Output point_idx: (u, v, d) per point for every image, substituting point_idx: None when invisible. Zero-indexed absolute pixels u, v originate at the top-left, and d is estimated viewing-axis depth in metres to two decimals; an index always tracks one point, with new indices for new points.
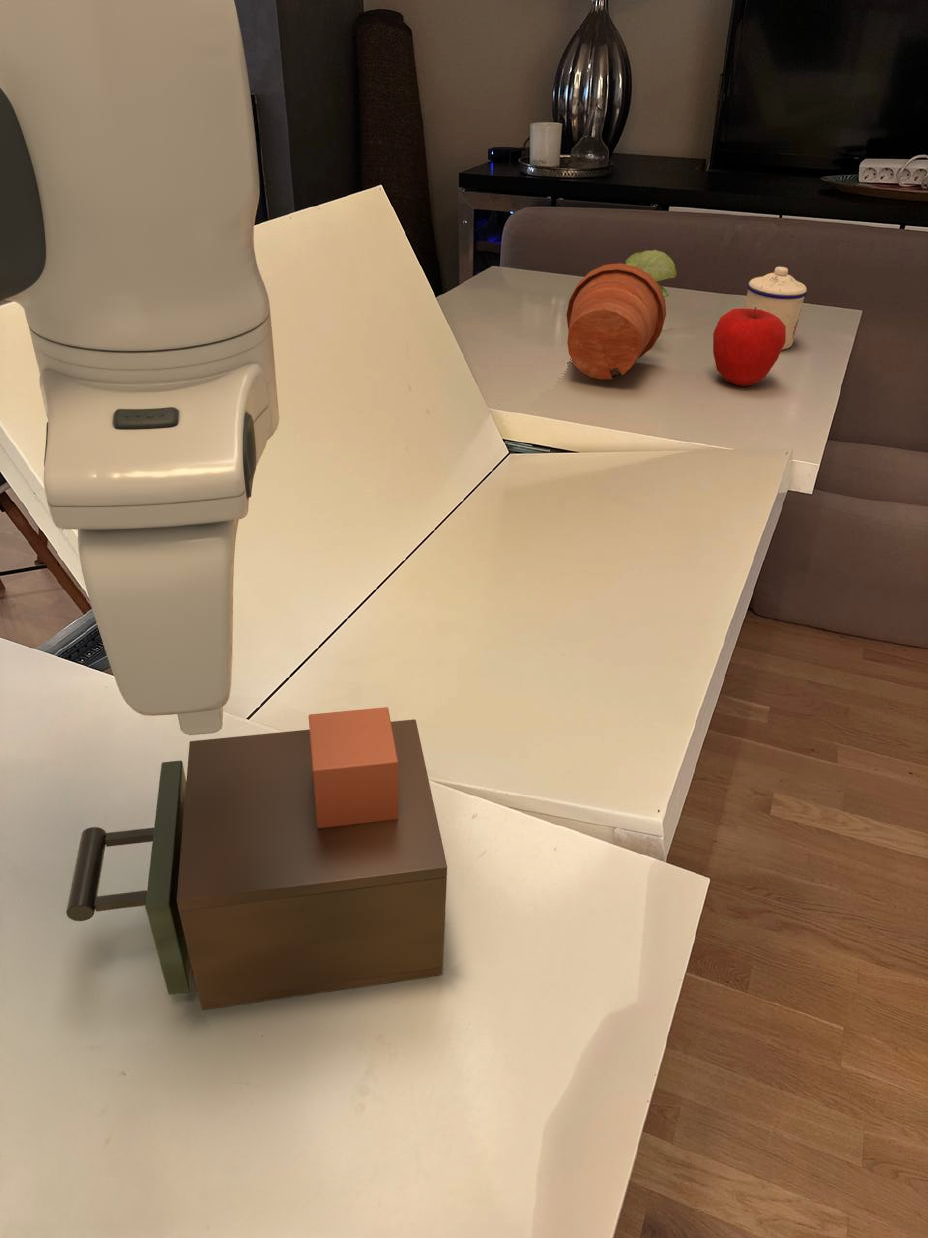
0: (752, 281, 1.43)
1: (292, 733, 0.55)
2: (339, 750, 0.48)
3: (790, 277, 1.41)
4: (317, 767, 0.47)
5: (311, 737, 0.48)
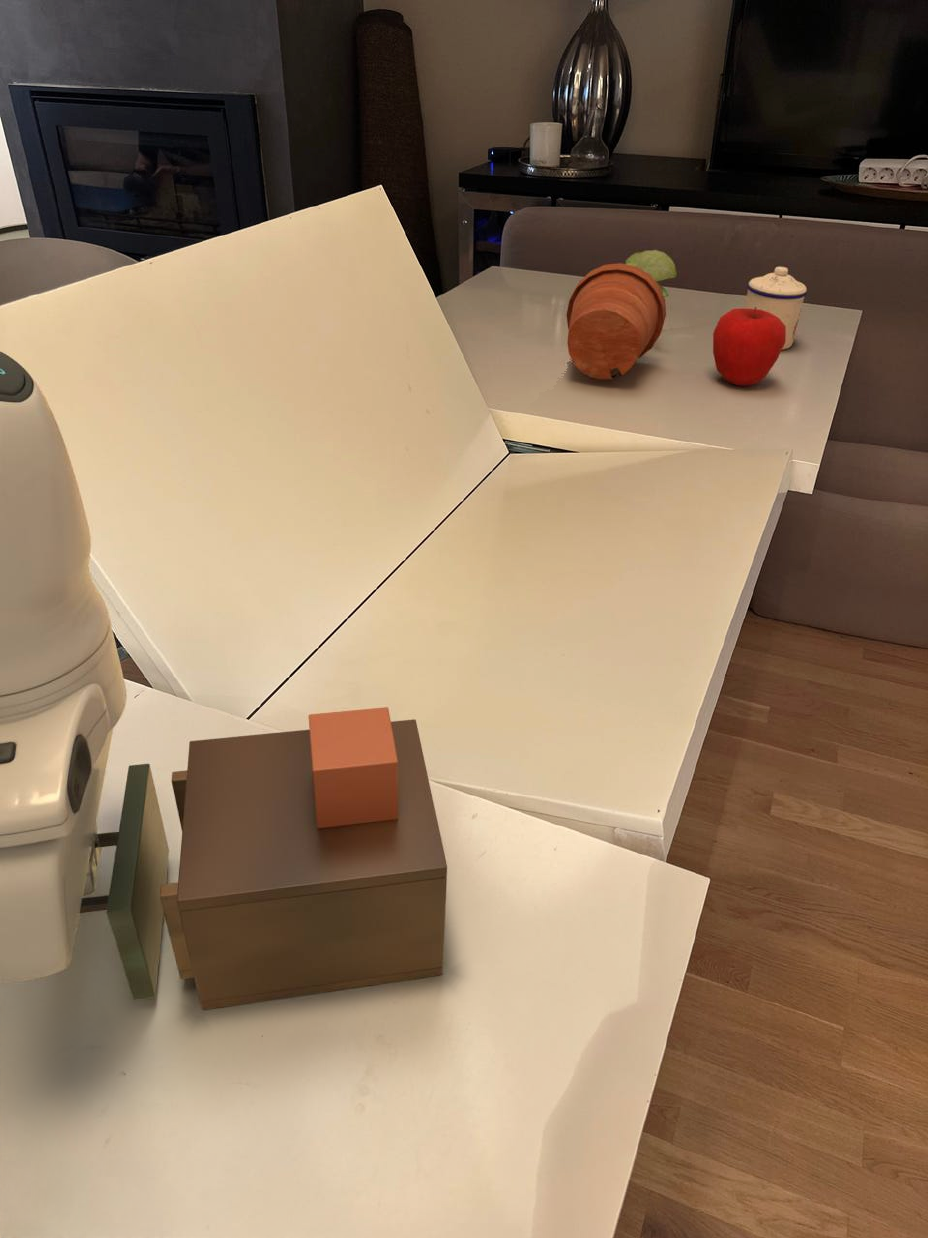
0: (752, 281, 1.43)
1: (292, 733, 0.55)
2: (339, 750, 0.48)
3: (790, 277, 1.41)
4: (317, 767, 0.47)
5: (311, 737, 0.48)
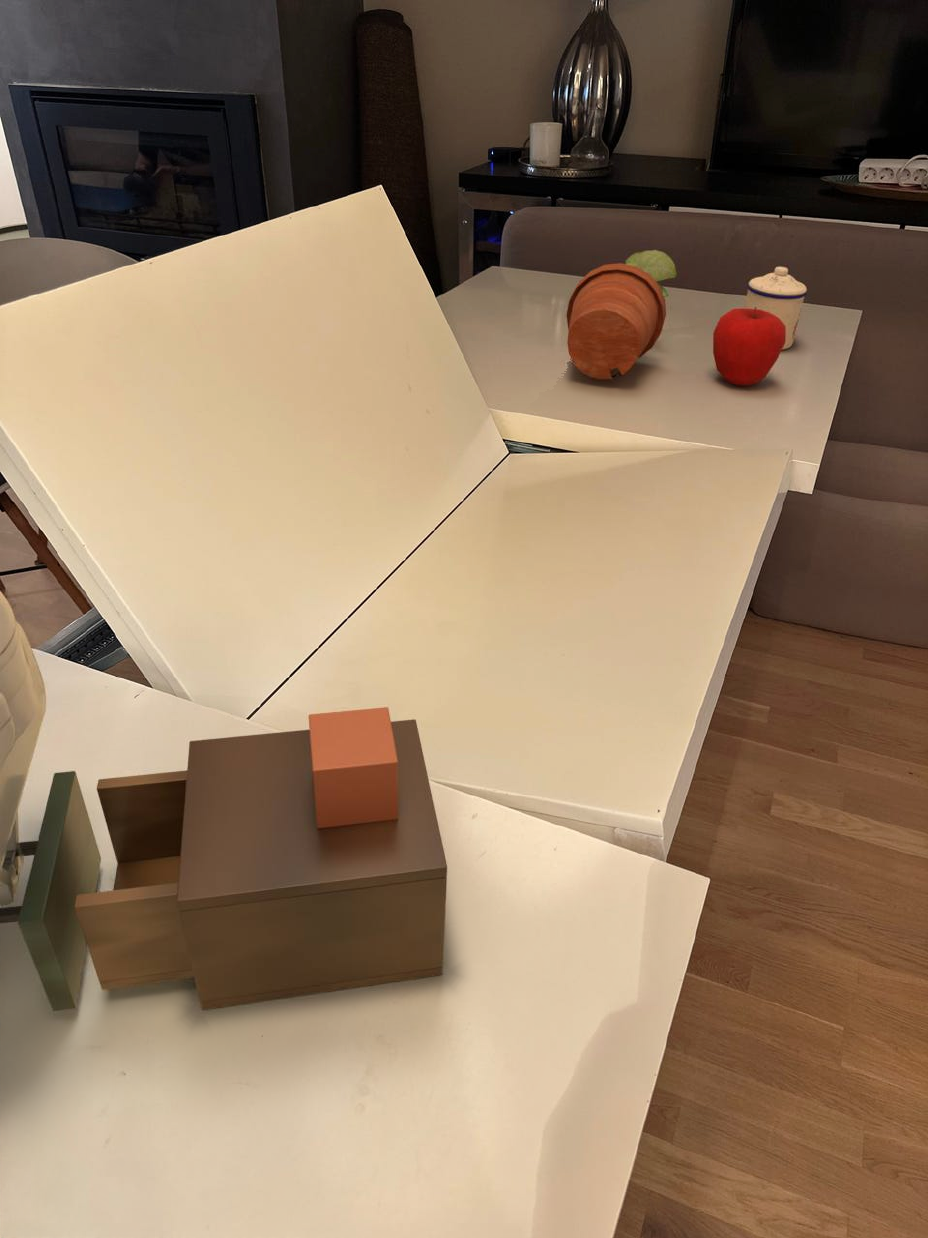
0: (752, 281, 1.43)
1: (292, 733, 0.55)
2: (339, 750, 0.48)
3: (790, 277, 1.41)
4: (317, 767, 0.47)
5: (311, 737, 0.48)
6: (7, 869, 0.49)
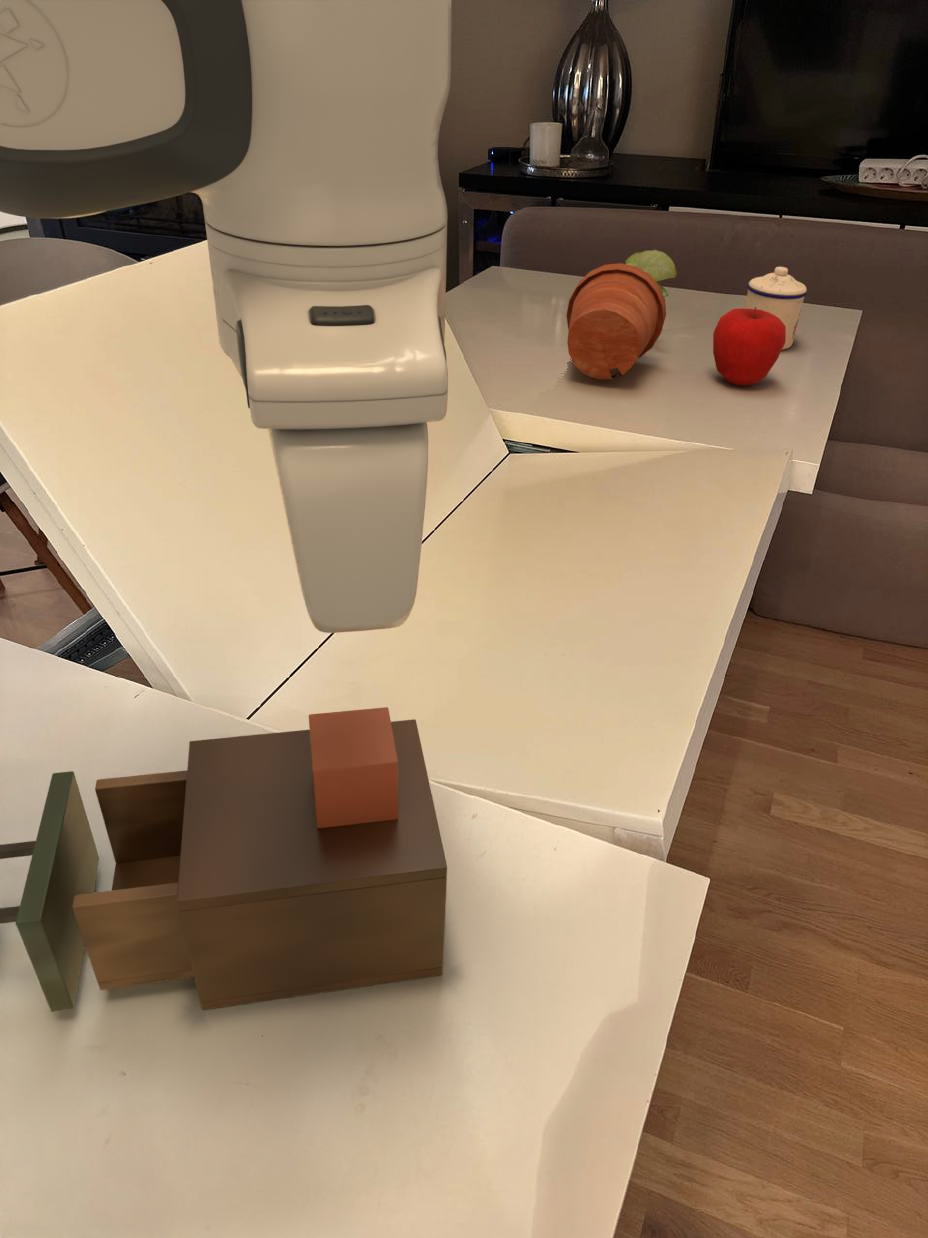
0: (752, 281, 1.43)
1: (292, 733, 0.55)
2: (339, 750, 0.48)
3: (790, 277, 1.41)
4: (317, 767, 0.47)
5: (311, 737, 0.48)
6: None
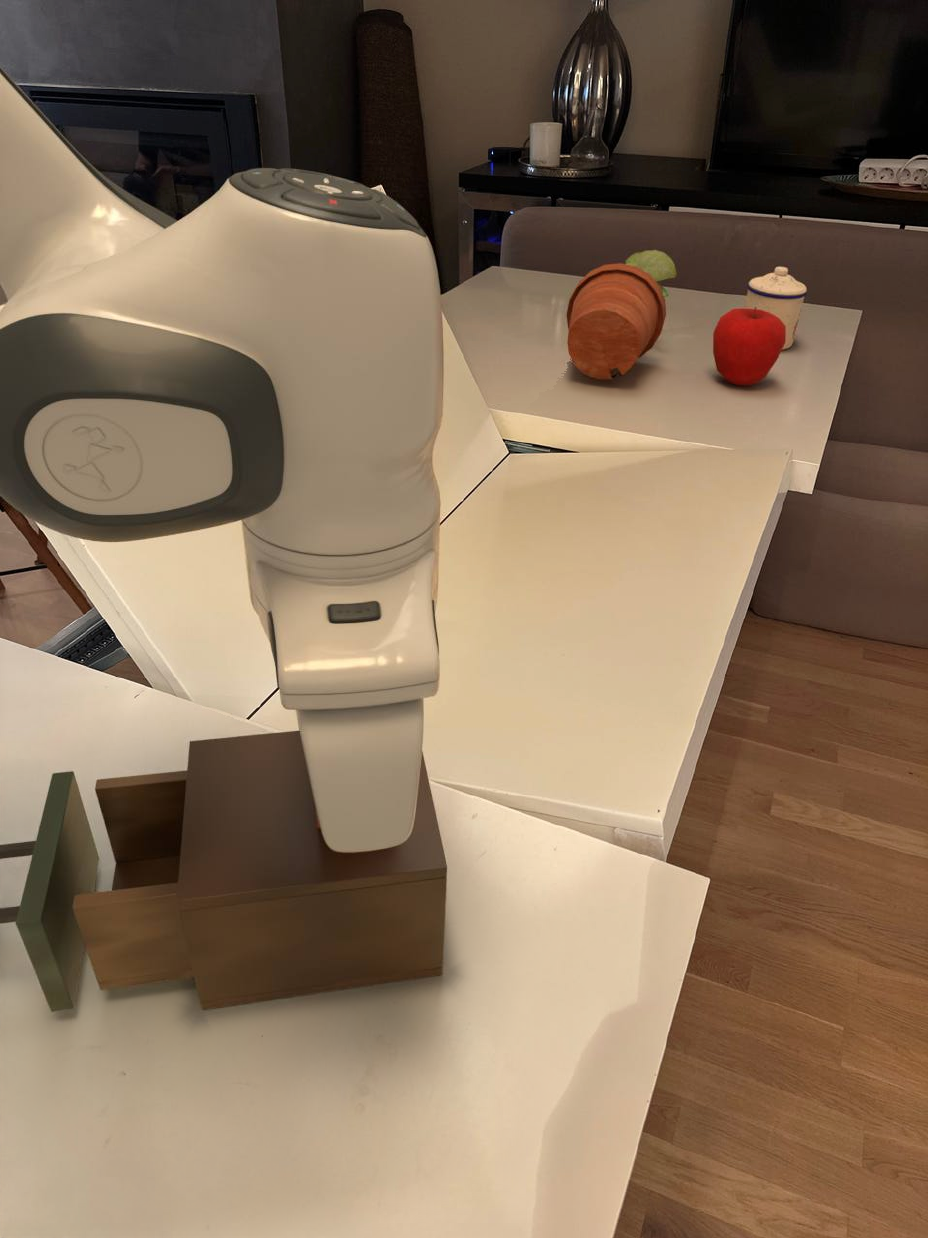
0: (752, 281, 1.43)
1: (292, 733, 0.55)
2: None
3: (790, 277, 1.41)
4: None
5: None
6: None
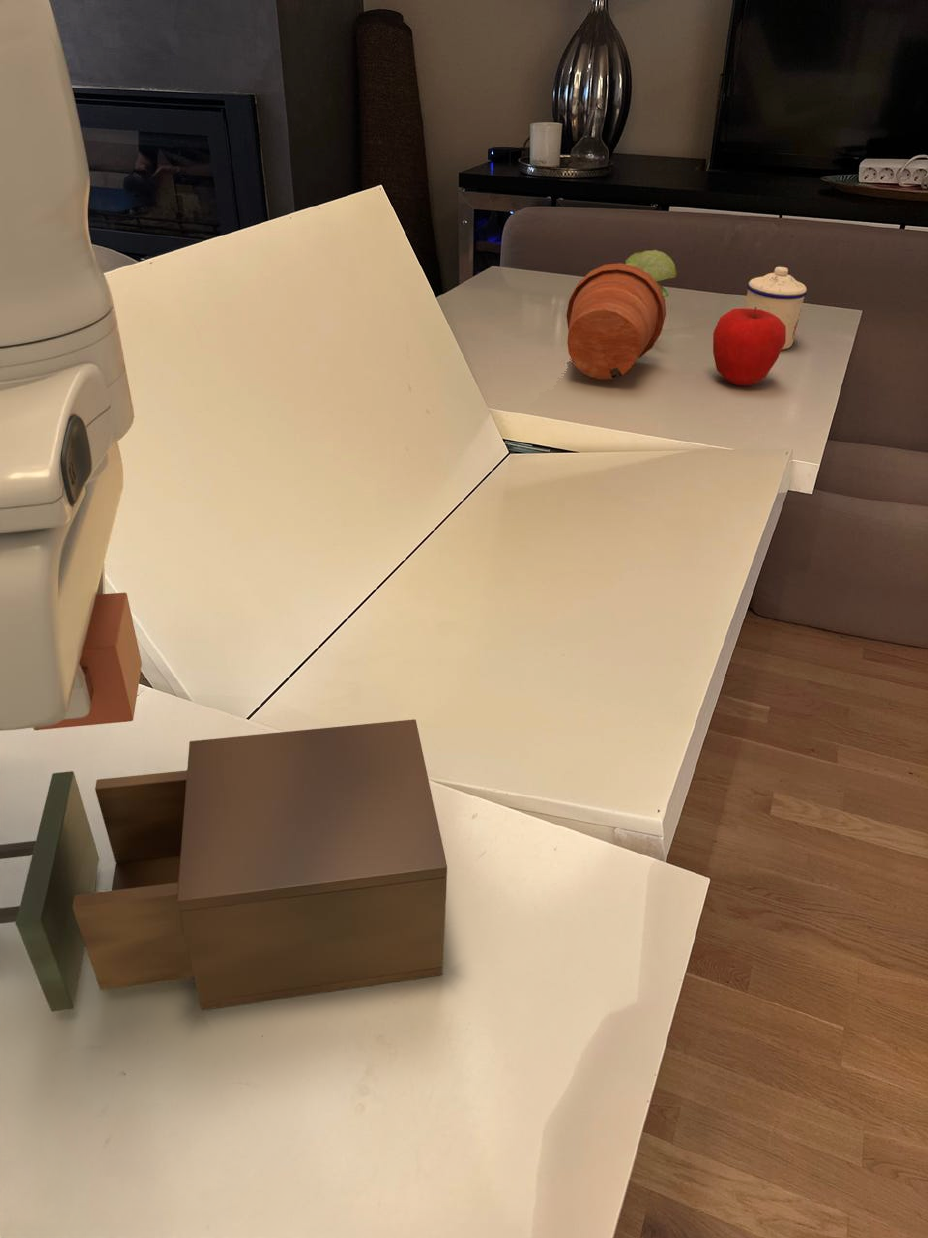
0: (752, 281, 1.43)
1: (292, 733, 0.55)
2: None
3: (790, 277, 1.41)
4: None
5: None
6: None
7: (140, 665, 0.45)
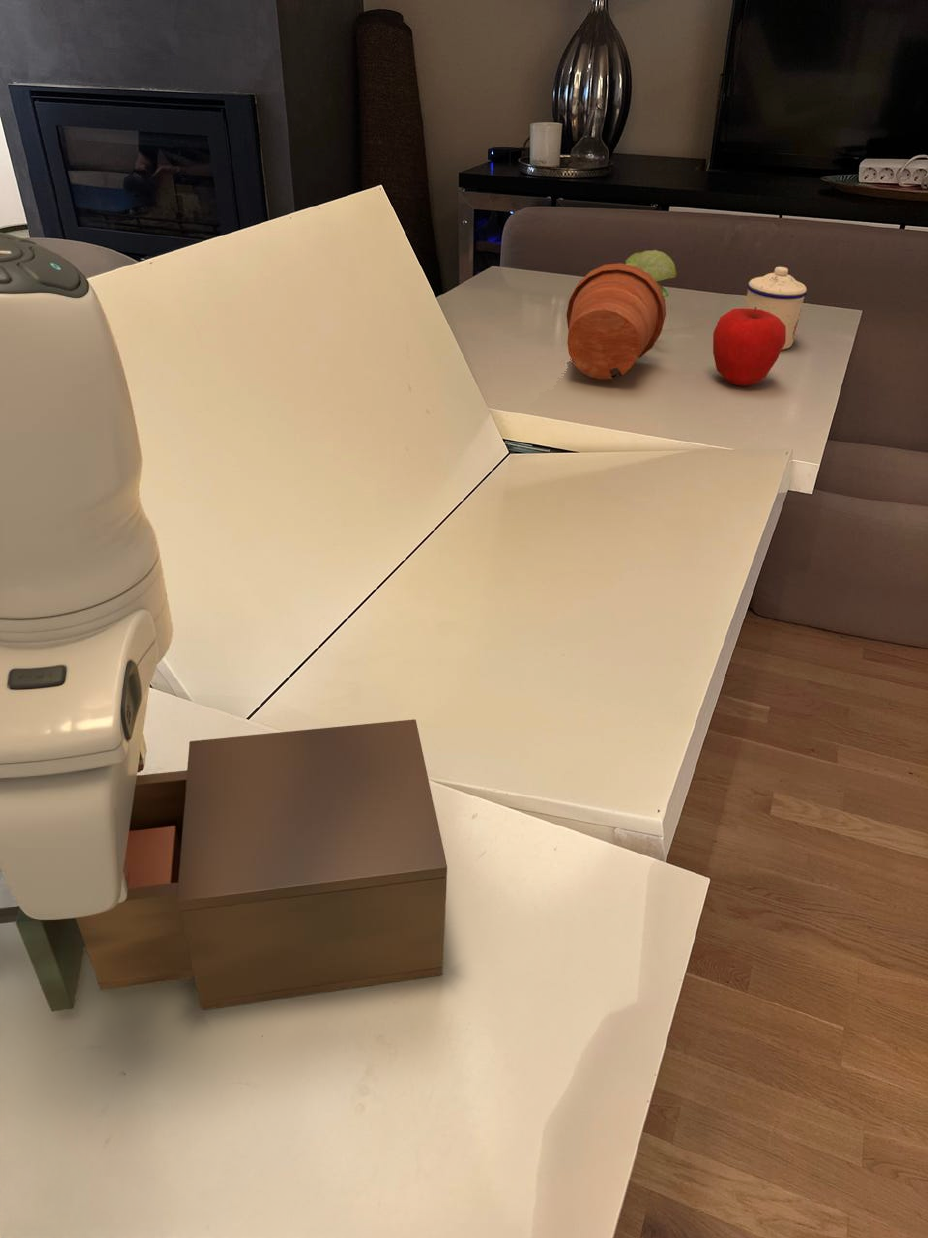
0: (752, 281, 1.43)
1: (292, 733, 0.55)
2: None
3: (790, 277, 1.41)
4: None
5: None
6: None
7: None
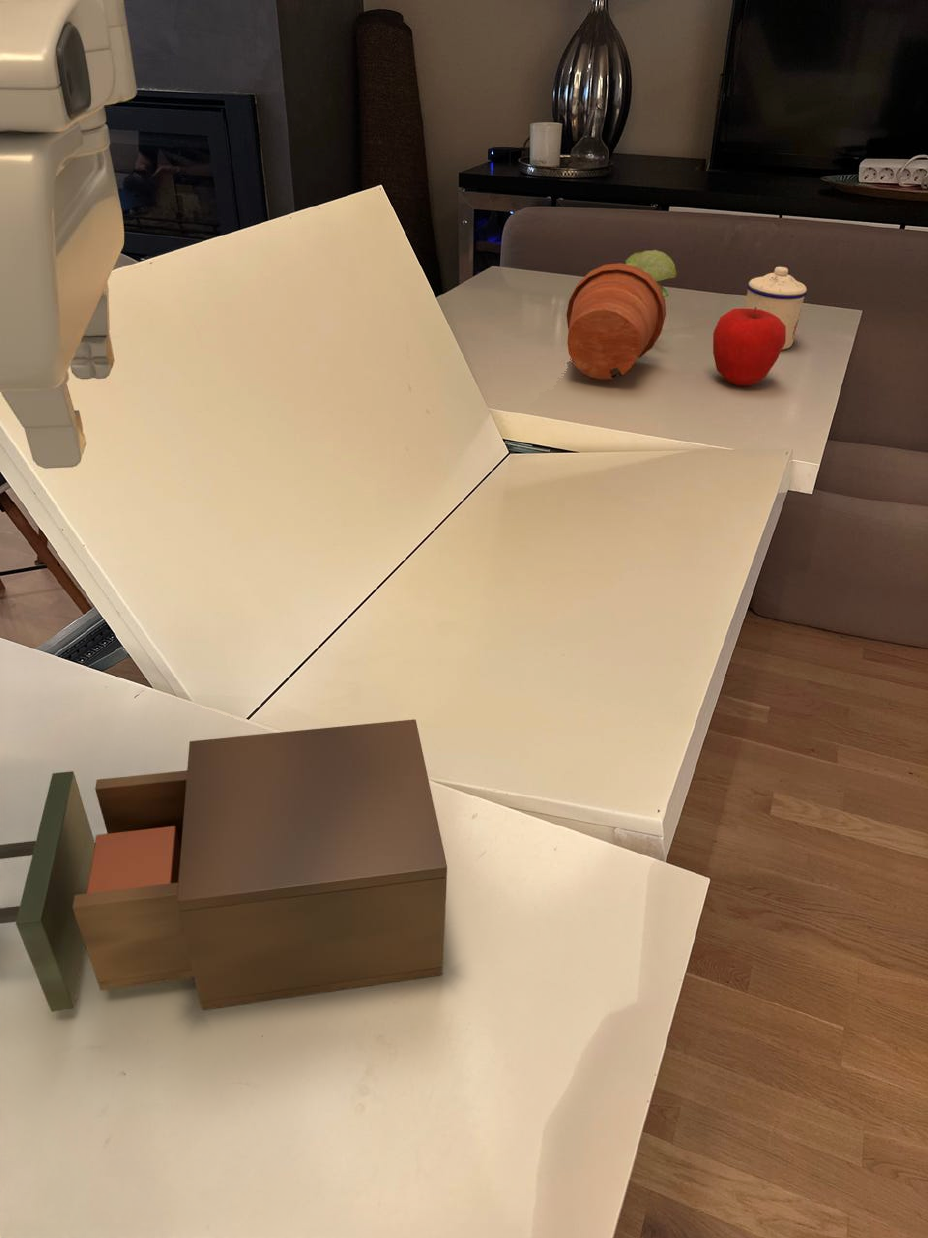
0: (752, 281, 1.43)
1: (292, 733, 0.55)
2: (116, 874, 0.50)
3: (790, 277, 1.41)
4: None
5: (93, 860, 0.51)
6: None
7: None
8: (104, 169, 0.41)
